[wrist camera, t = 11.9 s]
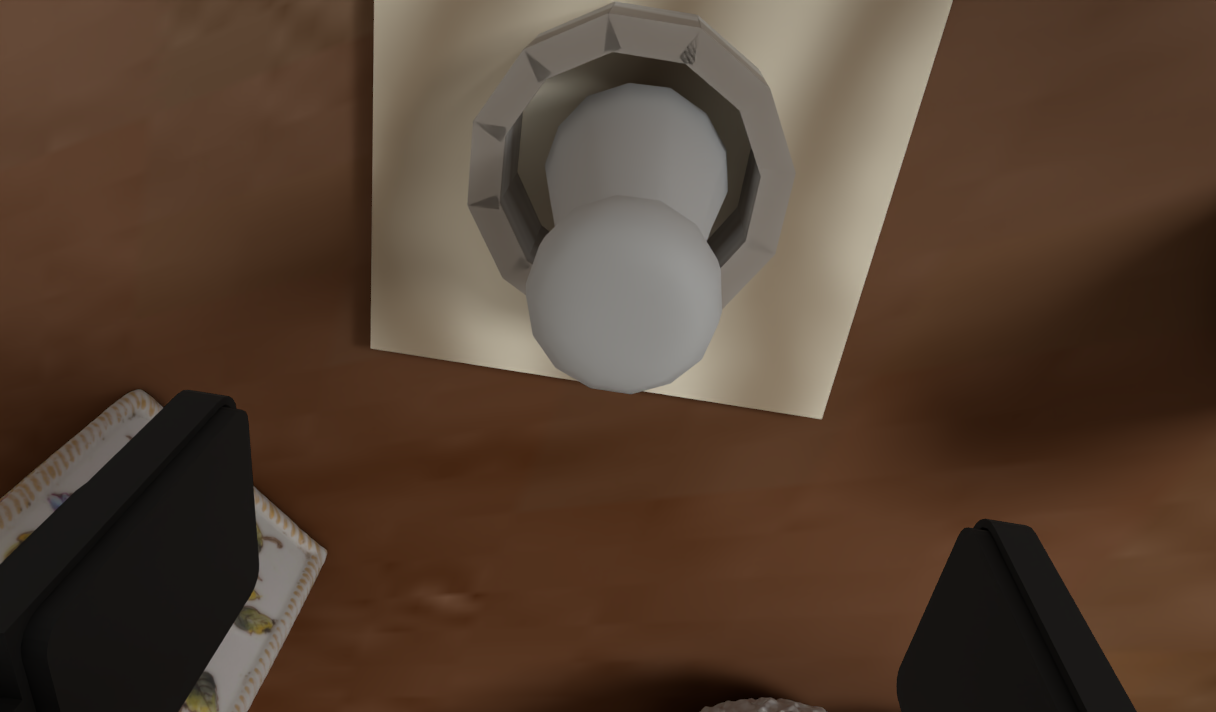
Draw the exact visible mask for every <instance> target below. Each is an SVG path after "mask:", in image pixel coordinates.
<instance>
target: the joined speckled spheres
mask: <svg viewBox="0 0 1216 712" xmlns="http://www.w3.org/2000/svg"><path fill="white" fill-rule="evenodd" d="M700 712H826V710H825V709H824V708H823V707H818V706H810V705H805V704H802V703H800V702H794V701H791V700H788V699H782V698H779V699H777V700H775V699H774V698H771V697H770V698H764V697H761V698H759V699H757V700H754V699H752V698H750V699H748V700H747V699H741V700H738V701H726V702H723V703H719V704H717V705H715V706H714V707H708V706H705V707H704V708H703V709H702V710H701V711H700Z"/></svg>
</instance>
